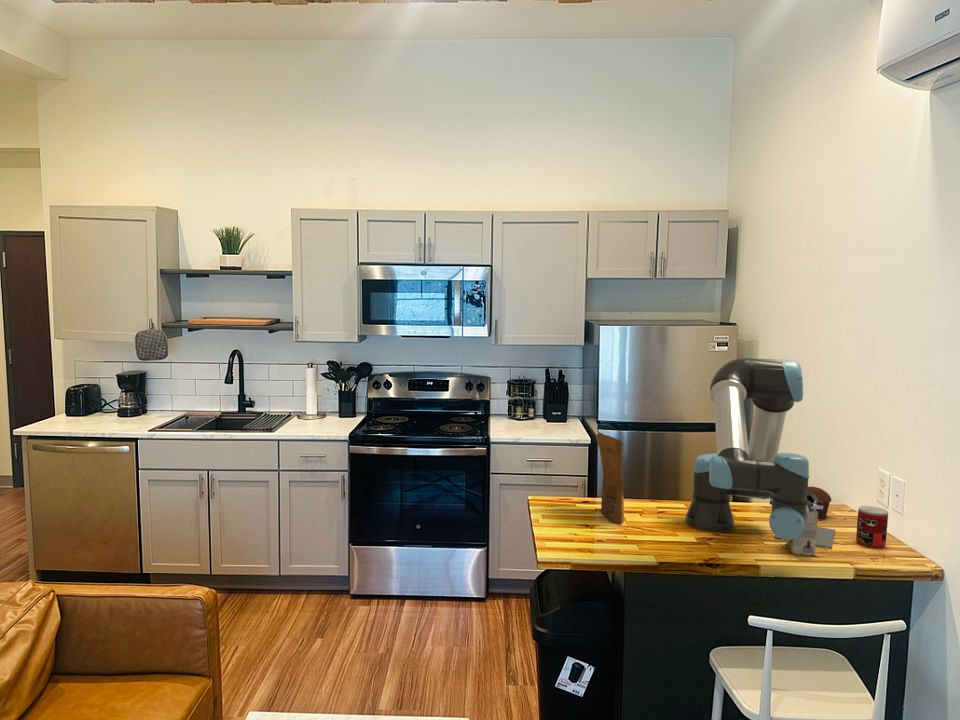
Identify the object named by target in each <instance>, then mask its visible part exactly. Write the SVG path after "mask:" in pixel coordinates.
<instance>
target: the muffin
mask: <svg viewBox="0 0 960 720" xmlns="http://www.w3.org/2000/svg"><path fill="white" fill-rule="evenodd" d="M807 491H808V494H810V493H814V494H815V495H816V497H817V498H818V499H819V501H821V502H823V512H818V519H822V520H824V519H823V518H826V519H827V514H828V509H829V508H830V507H829V506H830V503H831V502H832V501H833V500H832V497H831V495H830V494H829V493H828V492H827V491H825V490H824V489H822V488H820V487H817V486H808V490H807Z"/></svg>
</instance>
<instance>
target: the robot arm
mask: <svg viewBox="0 0 960 720" xmlns="http://www.w3.org/2000/svg"><path fill="white" fill-rule="evenodd" d="M709 395H710V398H711V400H712V403H714V418H715V438H716V439H715V441H716V453H715V452H714V453H711V452H710V453H705V454H701V455H698V456H697V457H696V458H695V460H694V463H693V464H694V465H693V466H694V467H693V470H692V471H693V481H692V482H693V483H692V498H691V502H690V504H689V507H688V509H687V511H686V514H685V523H686V524H687V525H688V526H690V527H692V528H694V529H697V530H701V531H706V532H715V533H717V532H718V533H719V532H720V533H722V532H730V531H731V530H733V529H734V528H735V519H734V516H733V512H732V508H731V504H730V501H731V498H730V497H731V496H732V497H734V496H735V497H742V498H751V499H761V500H769V505H771V512H770V514H769V521H768V525H769V528H770V530H771V532H772V533H773V534H774V536H775V535H776V536H778V537H779V538H782V539H785V540H791V539H795V538H797V537H799V536H800V535H801V533H802V532H803V531H804V530H805V524H806V521H807V519H808V516H809V514H810V512H811V511H813V509H814V510H815V511H818V512H823V502H821V501H819V499H818V498H817V497H816V495H815V494H814V493H810V494H808V491H807V490H808V487H809V479H810V474H809V473H810V467H809V465H810V463H809V460H808V458H807V457H806V456H804V455H802V454H798V453H792V452H791V453H790V452H780V453H779V449H780V444H781V440H782V434H783V429H784V424H785V419H786V414H787V412H789V411H790V410H791V409H793V406H794V405H795V403H799V402H802V401H803V397H804V381H803V372H802V367H801V364H800V363H799V362H798V361H796V360H790V359H785V358H783V359H771V358H770V359H769V358H751V357H750V358H748V357H739V358H735V359H732V360H731V361H728V362H726V363H725V364H723V366H721V367H720V368H719V369H718V370H717V371H716V372H715V374H713V376H712V379H711V382H710V385H709ZM746 399H747V400H748V399H750V400H751V403H752V404H753V406H754V411H753V418H752V421H751V430H750V434H749V440H748V432H747V423H746V411H745V402H744V401H745V400H746ZM808 500H809V501H808ZM785 540H784V541H785Z"/></svg>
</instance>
